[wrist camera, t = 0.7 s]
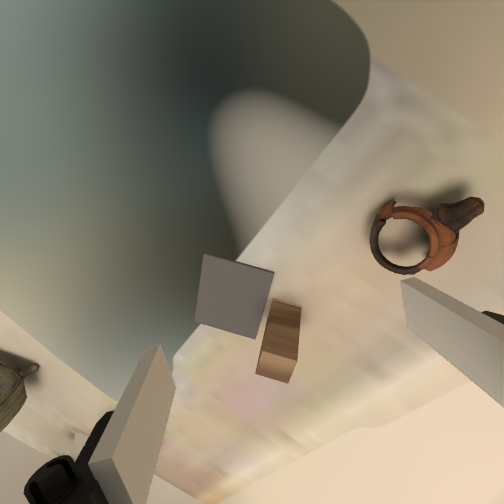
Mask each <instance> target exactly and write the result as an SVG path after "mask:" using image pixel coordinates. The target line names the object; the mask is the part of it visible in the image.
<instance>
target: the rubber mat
mask: <svg viewBox="0 0 504 504" xmlns="http://www.w3.org/2000/svg"><path fill="white" fill-rule="evenodd" d="M273 276H274V272H272V271H268V270H265V269H261V268H257V267H254V266H250V265H247V264H243V263H239V262H236V261H232V260H229V259H225V258H221V257H218V256H214V255H210V254H207V253H204V256H203V263H202V270H201V278H200V286H199V292H198V299H197V307H196V314H195V322H198V323H201V324H204V325H208V326H211V327H215V328H218V329H221V330H225V331H228V332H232V333H235V334H238V335H242V336H245V337H249V338H252V339H255V338H256V335H257V331H258V328H259V324H260V321H261V318H262V314H263V311H264V307H265V304H266V300H267V297H268V293H269V290H270V286H271V283H272V279H273Z"/></svg>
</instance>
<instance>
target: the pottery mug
mask: <svg viewBox="0 0 504 504" xmlns="http://www.w3.org/2000/svg"><path fill="white" fill-rule="evenodd" d="M395 203H396V201H394V200H393V201H391V202H389V203H388V204H387V205H385V206H384V207H383V208H382V209H381V210H380V213H378V214H377V215H376V217H375V219H374V221H373V225H372V228H371V234H370V245H371V252H372V253H373V256H374V258H375V259H376V260H377V262H378V263H379V264H380V265H381V266H383V267H384V268H386V269H387V270H389V271H392V272H394V273H398V274H402V275H406V274H411V275H414V274H416V273H417V272H419V271H420V270H423V269H426V270H428V271H432V270H435V269H437V268H439V267H441V266H442V265H444V264H445V263H446V262H447V261H448V260H449V259H450V258H451V257H452V255H453V254H454V252H455V249H456V247H457V244H458V239H459V230H460V229H462V228H463V227H464V226H466V225H467V224H468V223H470V222H471V220H473V219H474V218H475V217H477V216H478V215H480V214H482V213H483V212H484V202H483V201H482V200H481V199H480V198H477V197H468V198H466V199H464V200H462V201H459V202H457V203H453V204H447V203H441V204H440V207H439V208H438V209H437V218H438V220H439V221H437V220H434V219H432V215H433V213H432V212H430V211H427V210H424V209H420V208H417V207H409V206H398V207H394V205H395ZM391 217H393V219H408V220H411V221H414V222H416V223H418V224H419V225H420V226H422V227H423V228H424V229H425V231H426V232H427V234H428V236H429V239H430V250H429V253H428V255H427V256H426V258H425V259H424V260H423V261H422V262H420V263H418V264H417V265H414V266H409V267H404V266H398V265H395V264H393V263H391V262H390V261H388V260H387V259H386V258H385V257H384V256H383V254H382V253H381V251H380V249H379V245H378V236H379V233H380V231H381V229H382V227H383V226H384V225H385V224H386V220H387V219H389V218H391Z"/></svg>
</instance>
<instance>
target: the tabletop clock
mask: <svg viewBox="0 0 504 504" xmlns="http://www.w3.org/2000/svg"><path fill="white" fill-rule="evenodd" d="M38 368H39V367H38V365H32V366H31V367H30V370H29V371H28V372H26V373H25V374H23V375H22V376H21V374H20V370H18V369H15V370H13V369H11V368H9V367H6V366H4V365H2V364H0V432H1V431H2V430H3V429H4V428H5V427H6V426H7V425H8V424H9V423H10V421H11V420H12V419H13V418H14V417H15V415H16V414H17V413H18V412H19V410H20V409H21V408H22V406H23V405H24V403H25V400H26V398H27V395H26V390H25V385H24V380H23V379H24V378H25V377H26V376H27V375H28V374H29V373H31V372H36V371H37V370H38Z"/></svg>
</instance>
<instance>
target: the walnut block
mask: <svg viewBox="0 0 504 504" xmlns="http://www.w3.org/2000/svg"><path fill="white" fill-rule="evenodd" d="M300 318H301V306H299V305H296V304H292V303H288V302H285V301H281V300H278V299H273V302H272V305H271V309H270V312H269V315H268V318H267V323H266V327H265V332H264V336H263V341H262V346H261V350H260V355H259V359H258V364H257V368H256V373H255V374H258V375H261V376H264V377H268V378H271V379H274V380H278V381H281V382H284V383H289V380H290V378H291V375H292V373H293V370H294V368H295V365H296V363H297V358H298V345H299V332H300Z"/></svg>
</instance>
